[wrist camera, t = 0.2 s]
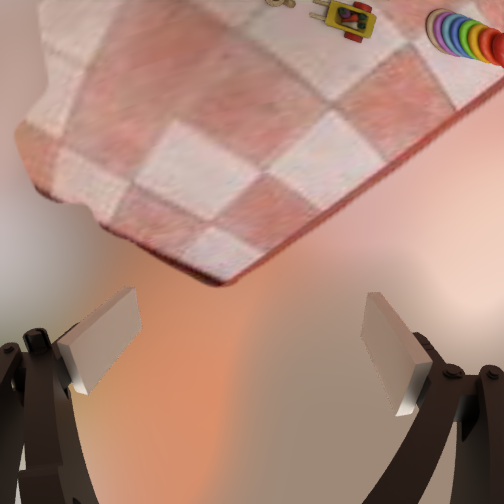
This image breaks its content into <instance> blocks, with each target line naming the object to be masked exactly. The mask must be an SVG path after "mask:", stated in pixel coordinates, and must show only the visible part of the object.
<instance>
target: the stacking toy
mask: <svg viewBox="0 0 504 504" xmlns="http://www.w3.org/2000/svg"><path fill="white" fill-rule="evenodd" d="M427 33H428V36H429V38H430V40H431V42H432V43H433V44H434V46H435V47H436V48H437V49H439V50H440V51H442V52H443V53H446V54H449V55H453V56H457V57H467V58H470V59H476V60H480V61H482V62H485V63H492V64H494V65H497V66H502V67H503V68H504V33H501V32H500V31H498V30H496V29H494V28H490V27H488V26H486V25H484V24H482V23H481V22H479V21H476V20H473V19H471V18H468V17H466V16H464V15H461V14H457V13H454V12H452V11H450V10H446V9H438V10H435V11H434V12H432V13H431V14H430V16H429V17H428V20H427Z"/></svg>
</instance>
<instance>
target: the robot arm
mask: <svg viewBox="0 0 504 504" xmlns="http://www.w3.org/2000/svg"><path fill="white" fill-rule="evenodd" d="M141 329H142V324H141V318H140V313H139V307H138V302H137V296H136V289H135V287H123V288H122V289H121V290H119V291H118V292H117V293H115V294H114V295H113V296H112V297H110V298H109V299H108V300H107V301H105V302H104V303H103V304H102V305H101V306H99V307H98V308H97V309H96V310H94V311H93V312H92V313H91V314H90V315H88V316H87V317H86V318H85V319H83V321H81V322H79V323H77V324H75V325H74V326H72V327H71V328H70V329H69V330H68V331H66V332H65V334H63V335H62V336H60V337H59V338H58V339H57V340H56V341H55V342H53V343H52V344H51V343H50V340H49V337H48V334H47V331H46V330H45V329H44V328H35V329H31V330H29V331H27V332H26V333H25V334H24V335H23V339H24V342H25V345H26V347H27V350H28V352H21V350H20V347H19V345H18V344H17V343H7V344H4V345H3V346H2V347H1V348H0V504H15V497H16V488H17V480H18V483H19V491H20V498H21V504H99V503H98V500H97V498H96V495H95V492H94V489H93V486H92V484H91V480H90V477H89V474H88V470H87V468H86V464H85V460H84V457H83V453H82V449H81V445H80V441H79V437H78V432H77V427H76V422H75V417H74V411H73V405H72V399H71V393H70V390H69V388H68V385H69V384H70V383H71V382H72V383H73V385H74V388H75V390H76V391H77V392H79V393H83V394H86V395H89V394H90V392H91V391H92V390H93V389H94V387H95V386H96V385H97V384H98V382H99V381H100V380H101V378H102V377H103V376H104V375H105V374H106V372H107V371H108V370H109V369H110V367H111V366H112V365H113V364H114V362H115V361H116V360H117V359H118V357H119V356H120V355H121V354H122V352H123V351H124V350H125V349H126V348H127V346H128V345H129V344H130V343H131V341H132V340H133V339H134V338H135V337H136V335H137V334H138V333H139V332H140V331H141ZM361 338H362V340H363V342H364V344H365V347H366V349H367V351H368V353H369V355H370V358H371V360H372V362H373V364H374V367H375V369H376V371H377V373H378V376H379V378H380V380H381V383H382V385H383V387H384V389H385V392H386V394H387V396H388V399H389V401H390V404H391V406H392V409H393V411H394V413H395V416H401V415H407V414H411V413H412V412H413V410H414V407H415V405H416V404H417V406H418V408H419V412H418V414H417V416H416V418H415V420H414V422H413V424H412V426H411V428H410V430H409V432H408V433H407V435H406V437H405V439H404V441H403V442H402V444H401V446H400V448H399V450H398V451H397V453H396V455H395V456H394V458H393V459H392V461H391V463H390V464H389V466H388V467H387V469H386V470H385V472H384V473H383V475H382V477H381V478H380V479H379V481H378V482H377V484H376V485H375V487H374V488H373V490H372V491H371V492H370V493H369V495H368V496H367V498H366V499H365V500H364V501H363V503H362V504H418V502H419V500H420V499H421V497H422V495H423V493H424V491H425V489H426V487H427V485H428V483H429V481H430V479H431V477H432V474H433V472H434V470H435V468H436V466H437V463H438V461H439V459H440V456H441V454H442V451H443V449H444V446H445V443H446V441H447V438H448V435H449V433H450V430H451V427H452V424H453V422H457V442H456V443H457V444H456V459H455V471H454V479H453V487H452V494H451V500H450V504H504V372H503V371H502V370H501V369H500V368H499V367H497V366H495V365H494V366H493V365H485V366H483V367H482V368H481V370H480V372H479V375H465V372H464V371H463V369H461V368H460V367H459V366H456V365H454V364H446V363H445V362H444V360H443V359H442V357H441V356H440V355H439V354H438V352H437V351H436V350H435V349H434V347H433V346H432V345H431V344H430V342H429V341H428V340H427V338H426V337H425V336H423V335H422V334H420V333H418V332H415V333H412V332H411V331H410V330H409V328H408V327H407V326H406V324H405V323H404V322H403V321H402V319H401V318H400V317H399V315H398V314H397V313H396V312H395V310H394V309H393V308H392V307H391V305H390V304H389V303H388V301H387V300H386V299H385V298H384V297H383V295H382V294H381V293H380V292H377V293H376V292H375V293H367V300H366V306H365V313H364V319H363V325H362V330H361ZM11 382H12V384H13V386H14V388H12V384H11ZM23 445H24V446H25V461H26V470H20V471H19V466H20V461H21V455H22V449H23Z"/></svg>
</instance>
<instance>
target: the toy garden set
mask: <svg viewBox="0 0 504 504" xmlns="http://www.w3.org/2000/svg"><path fill="white" fill-rule="evenodd" d="M266 2H267V3H268V4H269V5H271V6H279V5H281V4H285V5H286V6H288V7H290V8H293V7H294V6H295V4H296V3H295V1H294V0H266ZM313 2H314V3H317V4H321V5H325V6H328V7H329V10H328V14H327V17H323V16H320V15H316V14H313V13H310V17H313V18H317V19H320V20H324V21H325V24H326V25H329V26H332V27H335V28H338V29H341V30H344V31H346V33H345V36H344V37H345V38H348V39H351V40H353V41H356V42H359V43H361V42H362V39H363V37H365V38H370V37H371V34H372V31H373V28H374V24H375V21H376V16H375V15H374V14H371V11H372V7H371V6H369V5H366V4H363V3H360V2H355V3H354V6H353V7H352V6H349V5H346V4H343V3H340V2H337V1H334V0H331V3H327V2H324V1H320V0H314V1H313ZM358 35H359V36H358ZM361 36H362V37H361Z"/></svg>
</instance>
